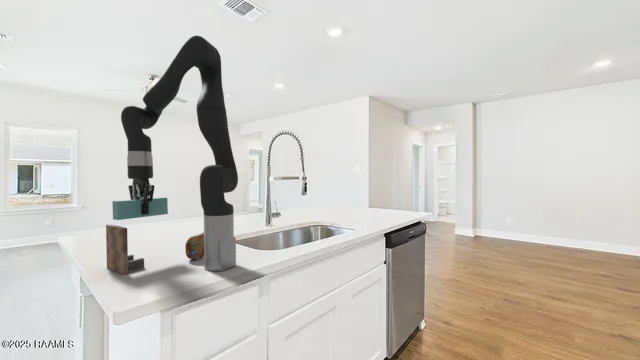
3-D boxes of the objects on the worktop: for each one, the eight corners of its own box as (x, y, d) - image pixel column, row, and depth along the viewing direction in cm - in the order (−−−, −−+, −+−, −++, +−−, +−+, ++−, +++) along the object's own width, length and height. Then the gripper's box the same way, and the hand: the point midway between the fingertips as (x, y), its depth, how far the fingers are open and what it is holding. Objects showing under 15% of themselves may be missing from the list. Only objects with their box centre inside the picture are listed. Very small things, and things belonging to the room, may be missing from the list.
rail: (167, 214, 105) (167, 197, 105) (118, 220, 92) (117, 201, 92) (162, 213, 107) (161, 197, 107) (112, 219, 94) (112, 201, 94)
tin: (191, 262, 98) (191, 238, 98) (183, 262, 99) (183, 238, 99) (216, 251, 113) (215, 230, 113) (208, 250, 114) (208, 229, 113)
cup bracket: (147, 268, 92) (146, 225, 92) (123, 274, 86) (122, 228, 86) (129, 262, 99) (128, 222, 98) (106, 267, 93) (106, 224, 93)
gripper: (162, 164, 99) (163, 213, 99) (142, 166, 107) (143, 212, 107) (138, 163, 92) (140, 216, 93) (119, 165, 100) (120, 214, 100)
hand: (141, 213), depth 100 cm, fingers closed on rail, 4 cm apart
